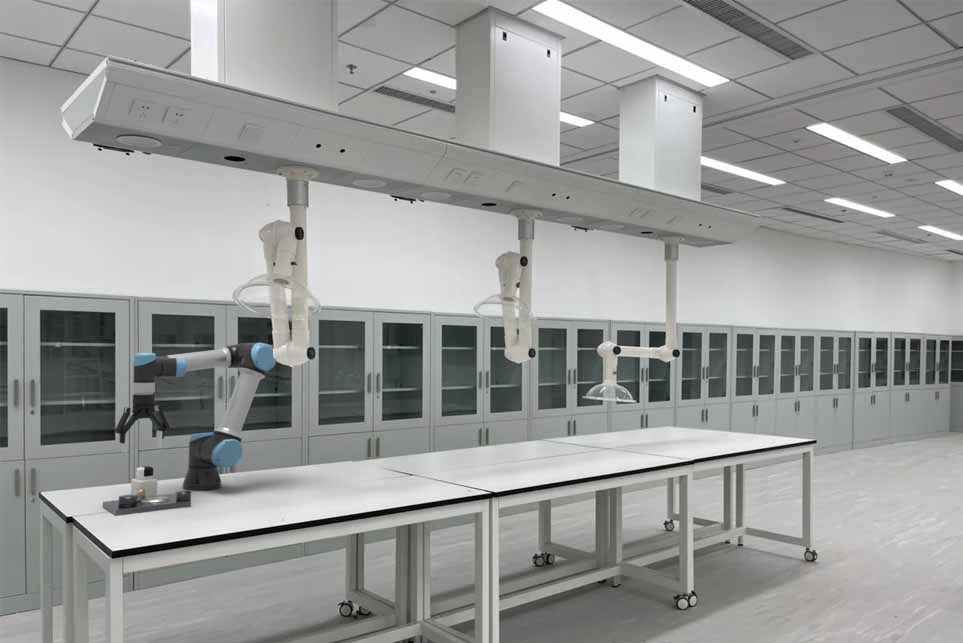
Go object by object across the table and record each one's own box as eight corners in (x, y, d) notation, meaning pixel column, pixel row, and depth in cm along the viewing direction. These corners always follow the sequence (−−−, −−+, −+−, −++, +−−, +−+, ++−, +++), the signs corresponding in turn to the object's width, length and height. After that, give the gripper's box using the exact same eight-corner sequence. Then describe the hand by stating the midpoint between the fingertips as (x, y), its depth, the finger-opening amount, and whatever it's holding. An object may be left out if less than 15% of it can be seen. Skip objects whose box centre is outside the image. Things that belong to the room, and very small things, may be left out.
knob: (192, 501, 269) (193, 492, 269) (179, 502, 265) (179, 493, 265) (185, 497, 274) (185, 489, 274) (171, 499, 271) (172, 490, 271)
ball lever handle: (133, 507, 255) (133, 498, 255) (115, 507, 254) (116, 498, 254) (150, 496, 273) (150, 488, 273) (133, 496, 272) (134, 488, 272)
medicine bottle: (148, 495, 286) (149, 464, 286) (157, 497, 281) (158, 467, 282) (130, 497, 280) (131, 466, 281) (138, 500, 276) (140, 469, 276)
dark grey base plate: (175, 498, 280) (175, 493, 280) (190, 506, 269) (190, 500, 269) (102, 507, 263) (103, 501, 263) (115, 515, 251) (115, 509, 251)
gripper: (168, 391, 284) (167, 445, 283) (105, 394, 264) (103, 452, 263) (179, 392, 280) (178, 447, 279) (116, 396, 259) (114, 454, 259)
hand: (142, 450), depth 271 cm, fingers open, 13 cm apart
